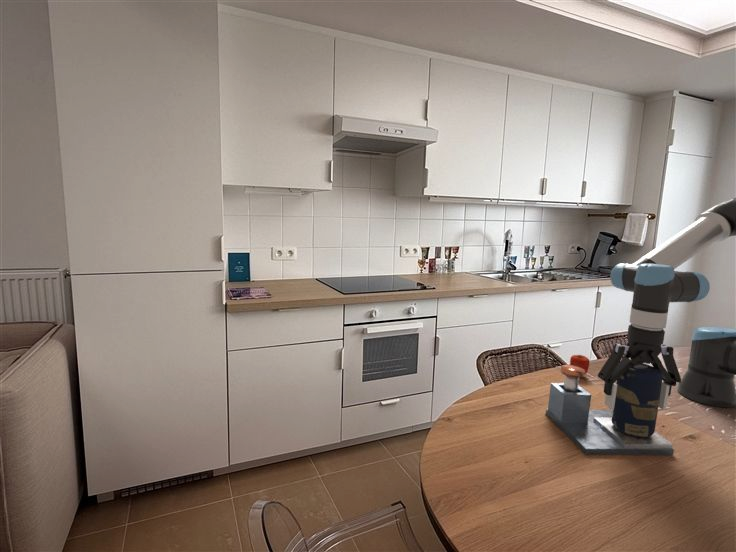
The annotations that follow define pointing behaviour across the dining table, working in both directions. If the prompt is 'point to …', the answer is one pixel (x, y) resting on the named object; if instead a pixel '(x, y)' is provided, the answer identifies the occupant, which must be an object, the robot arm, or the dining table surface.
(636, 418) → the canister
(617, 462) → the dining table surface
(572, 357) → the apple
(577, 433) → the grey l-shaped stand
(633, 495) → the dining table surface
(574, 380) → the pin
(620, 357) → the robot arm
